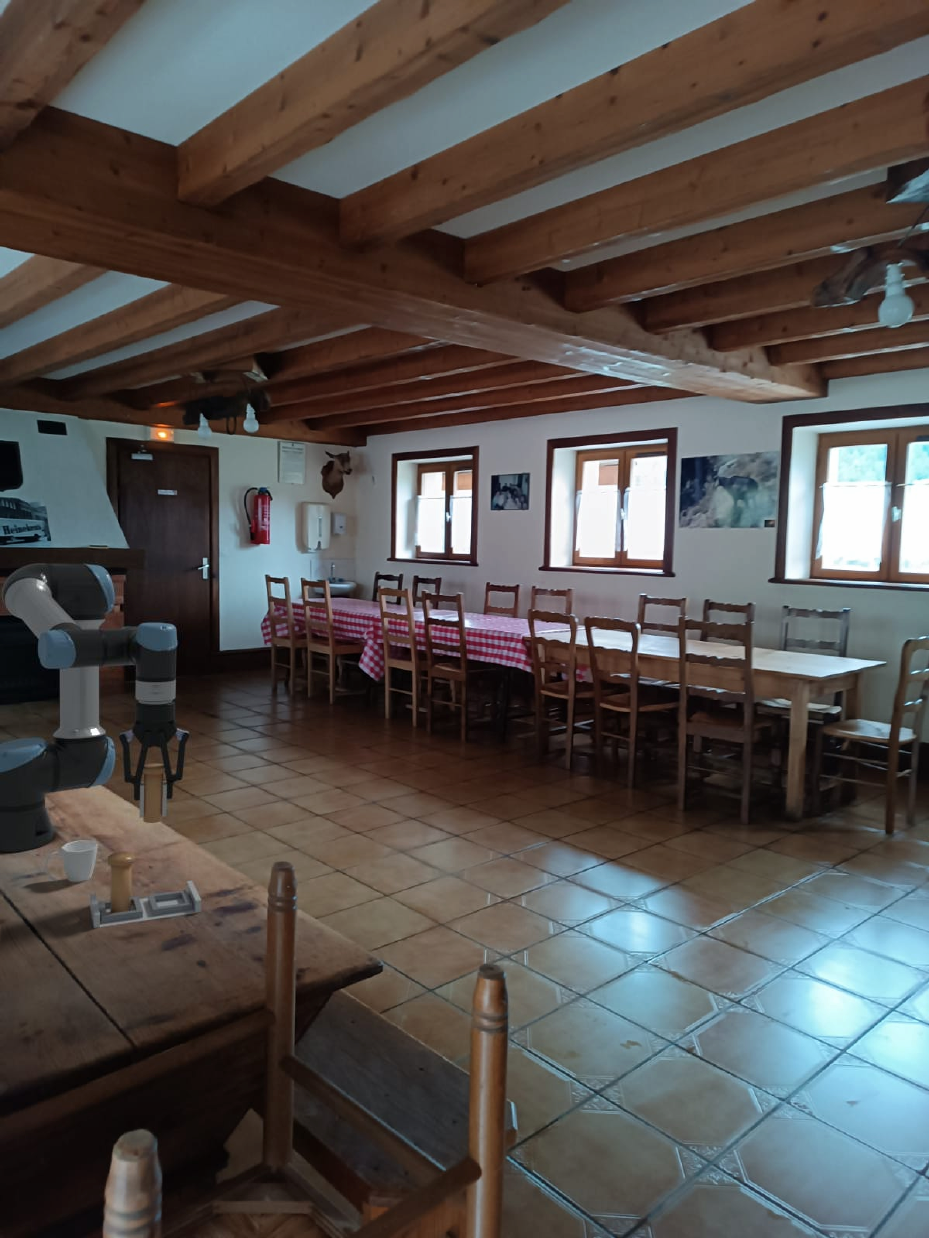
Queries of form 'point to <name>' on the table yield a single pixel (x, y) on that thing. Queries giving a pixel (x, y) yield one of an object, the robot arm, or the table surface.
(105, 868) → the table surface
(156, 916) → the tray
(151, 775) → the tan ball-headed post
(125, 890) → the rounded wooden peg
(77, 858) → the cup
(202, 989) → the table surface
